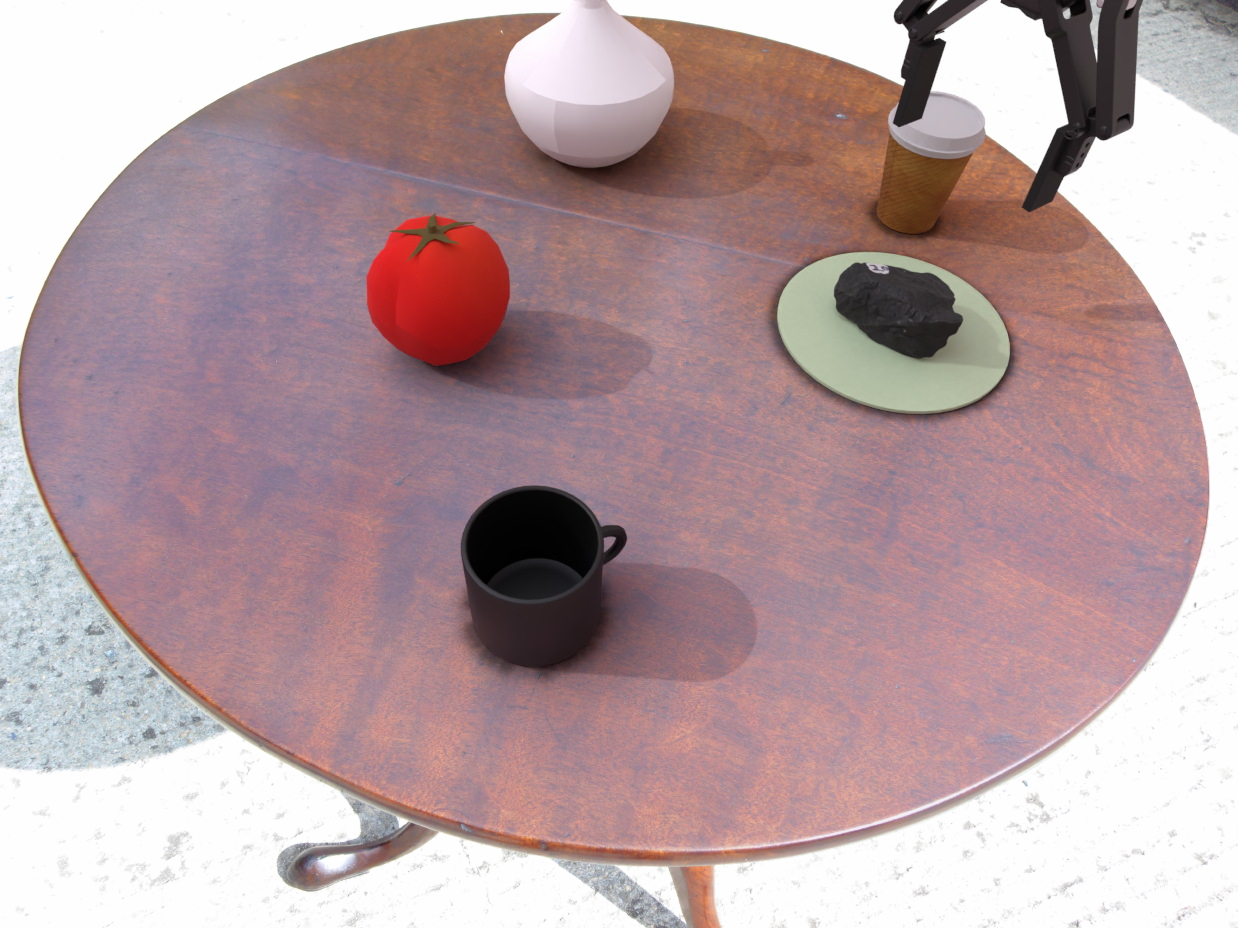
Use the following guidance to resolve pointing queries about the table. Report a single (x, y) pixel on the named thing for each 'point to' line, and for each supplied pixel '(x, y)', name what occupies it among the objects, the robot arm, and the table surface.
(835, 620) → the table surface
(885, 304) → the rock
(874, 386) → the mat
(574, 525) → the mug
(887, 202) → the disposable coffee cup
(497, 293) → the tomato
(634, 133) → the vase
